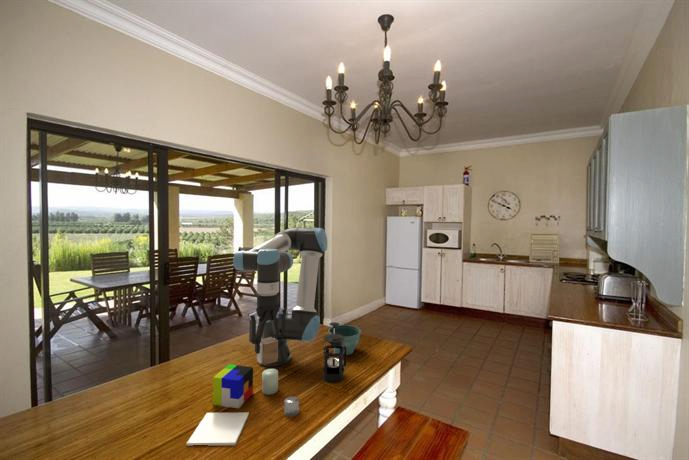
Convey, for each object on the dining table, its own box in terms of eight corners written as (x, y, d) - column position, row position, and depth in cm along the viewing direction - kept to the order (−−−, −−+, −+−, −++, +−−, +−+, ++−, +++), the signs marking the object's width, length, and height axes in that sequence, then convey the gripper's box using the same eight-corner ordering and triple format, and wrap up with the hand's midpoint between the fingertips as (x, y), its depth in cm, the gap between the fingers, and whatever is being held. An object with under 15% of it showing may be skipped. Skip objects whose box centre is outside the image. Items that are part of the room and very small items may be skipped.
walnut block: (257, 359, 107) (257, 340, 107) (270, 356, 110) (271, 336, 110) (263, 365, 103) (264, 344, 103) (277, 361, 106) (277, 341, 106)
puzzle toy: (238, 408, 106) (238, 380, 106) (213, 404, 108) (213, 377, 108) (252, 392, 116) (252, 367, 116) (229, 389, 118) (229, 364, 118)
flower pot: (366, 349, 157) (366, 328, 156) (349, 361, 143) (349, 338, 143) (339, 342, 165) (340, 322, 165) (321, 353, 152) (322, 331, 151)
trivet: (186, 445, 89) (186, 442, 89) (206, 415, 103) (206, 412, 103) (235, 445, 89) (235, 442, 89) (248, 414, 103) (248, 412, 103)
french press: (331, 386, 122) (331, 329, 121) (316, 377, 128) (317, 323, 128) (352, 376, 130) (352, 322, 129) (337, 368, 136) (338, 317, 136)
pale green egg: (259, 389, 119) (259, 371, 118) (273, 384, 122) (273, 367, 122) (266, 396, 114) (266, 378, 114) (280, 391, 118) (280, 373, 118)
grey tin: (281, 411, 105) (281, 399, 105) (294, 405, 108) (294, 394, 108) (288, 418, 101) (288, 406, 101) (301, 412, 105) (301, 401, 104)
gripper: (247, 299, 98) (246, 371, 98) (296, 292, 109) (295, 356, 110) (238, 295, 103) (237, 363, 104) (285, 288, 115) (285, 349, 115)
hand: (267, 359), depth 107 cm, fingers closed on walnut block, 5 cm apart
